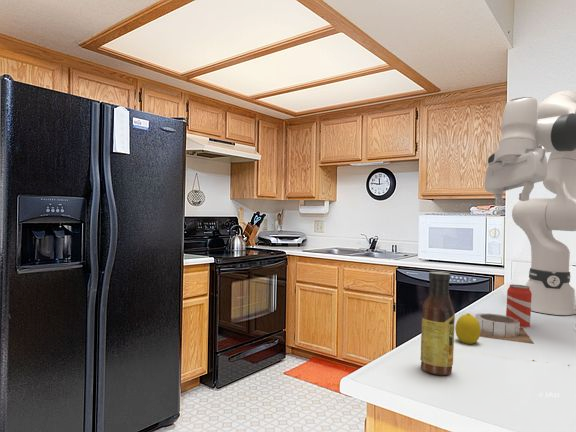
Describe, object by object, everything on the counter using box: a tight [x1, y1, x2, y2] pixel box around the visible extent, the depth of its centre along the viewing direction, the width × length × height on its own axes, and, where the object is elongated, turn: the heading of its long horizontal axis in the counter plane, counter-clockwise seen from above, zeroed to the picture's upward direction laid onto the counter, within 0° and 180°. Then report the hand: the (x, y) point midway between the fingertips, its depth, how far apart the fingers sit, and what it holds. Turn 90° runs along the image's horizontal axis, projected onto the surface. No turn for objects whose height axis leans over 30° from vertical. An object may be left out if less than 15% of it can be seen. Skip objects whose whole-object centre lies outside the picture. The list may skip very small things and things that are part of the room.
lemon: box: [454, 313, 481, 345], centre depth 99 cm, size 6×6×8 cm
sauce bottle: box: [420, 271, 456, 376], centre depth 83 cm, size 7×6×20 cm
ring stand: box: [479, 327, 535, 345], centre depth 109 cm, size 15×15×1 cm
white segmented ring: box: [474, 312, 521, 337], centre depth 109 cm, size 10×10×4 cm
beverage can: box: [505, 283, 532, 328], centre depth 118 cm, size 6×6×12 cm
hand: (511, 203), depth 109 cm, fingers open, 8 cm apart
